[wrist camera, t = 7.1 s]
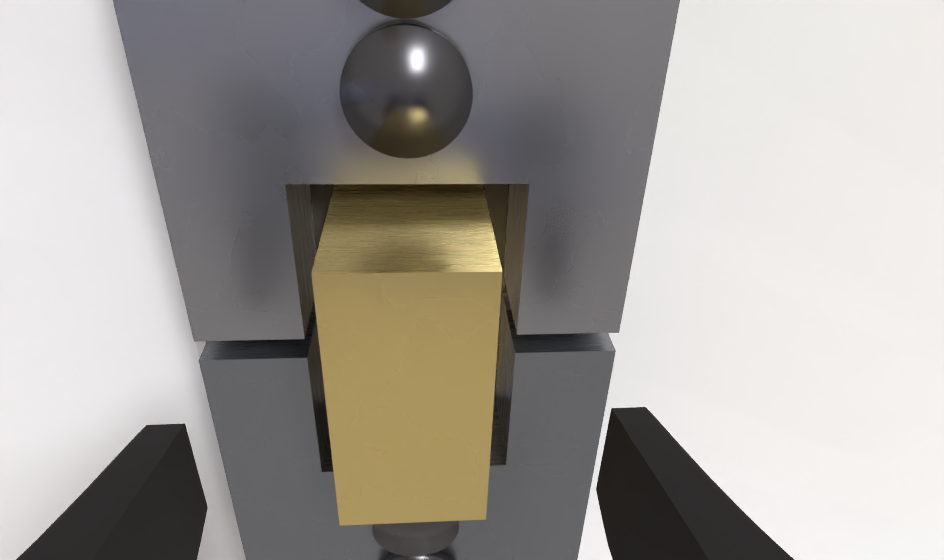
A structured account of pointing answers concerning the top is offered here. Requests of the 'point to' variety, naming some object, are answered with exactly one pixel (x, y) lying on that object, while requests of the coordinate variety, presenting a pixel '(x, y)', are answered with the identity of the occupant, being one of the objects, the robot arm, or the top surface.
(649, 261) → the top surface
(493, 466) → the chain ends
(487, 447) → the brass rectangular block
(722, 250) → the top surface
